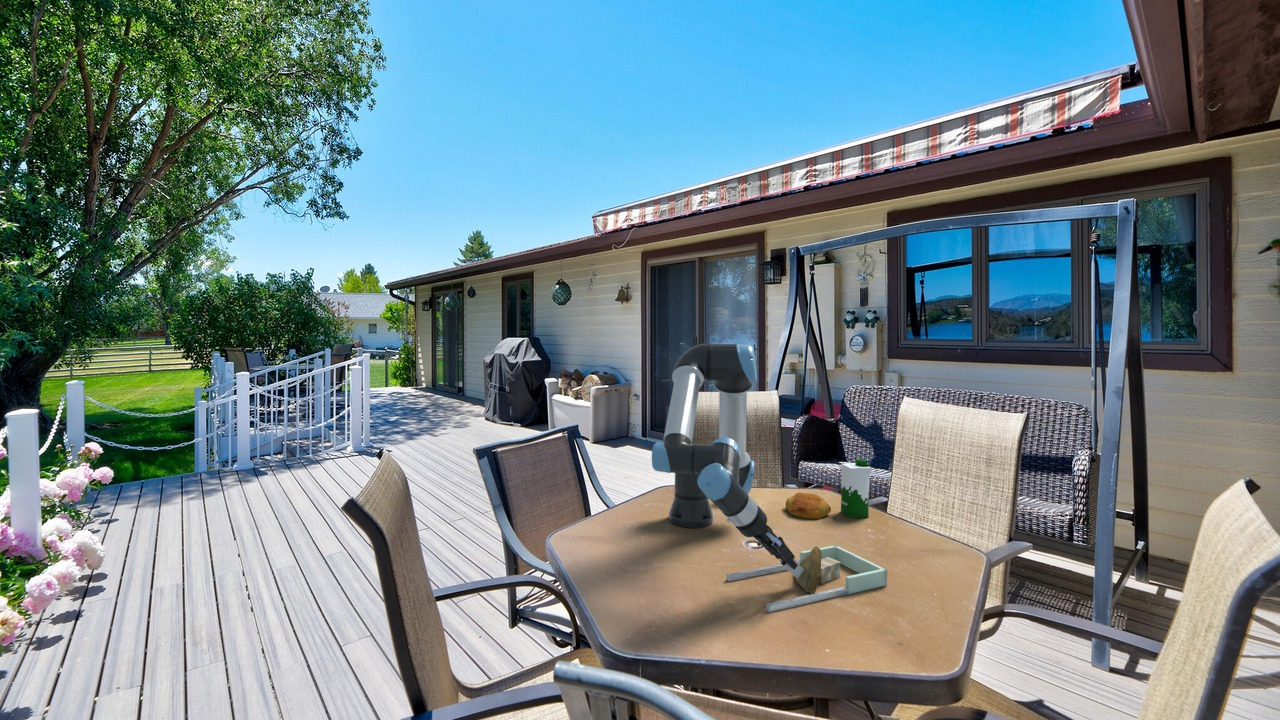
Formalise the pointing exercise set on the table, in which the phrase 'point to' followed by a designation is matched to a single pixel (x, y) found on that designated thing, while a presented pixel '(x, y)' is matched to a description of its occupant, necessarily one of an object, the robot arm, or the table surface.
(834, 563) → the beige cube
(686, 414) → the robot arm
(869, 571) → the tray pen
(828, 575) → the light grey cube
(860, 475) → the milk carton
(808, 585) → the rock
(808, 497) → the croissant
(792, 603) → the slot rails
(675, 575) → the table surface
